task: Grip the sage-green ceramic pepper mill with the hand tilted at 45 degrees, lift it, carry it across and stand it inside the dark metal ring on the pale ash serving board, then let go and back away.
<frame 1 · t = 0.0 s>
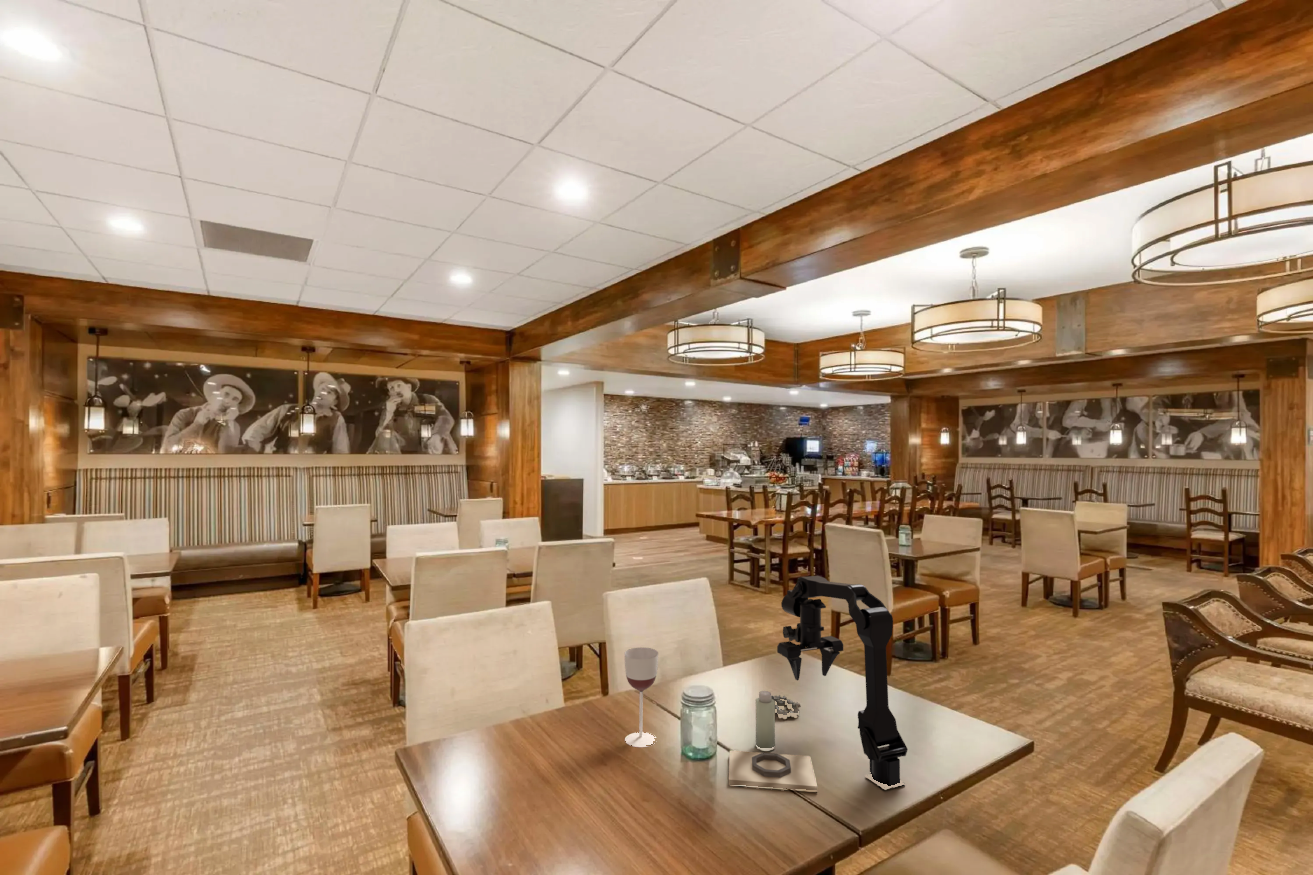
hand: (810, 677, 168), 15 cm above the table, tool pointing down, fingers open, 9 cm apart
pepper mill: (765, 746, 158), on the table
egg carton: (782, 713, 180), on the table
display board: (771, 773, 144), on the table
wineglass: (640, 740, 162), on the table
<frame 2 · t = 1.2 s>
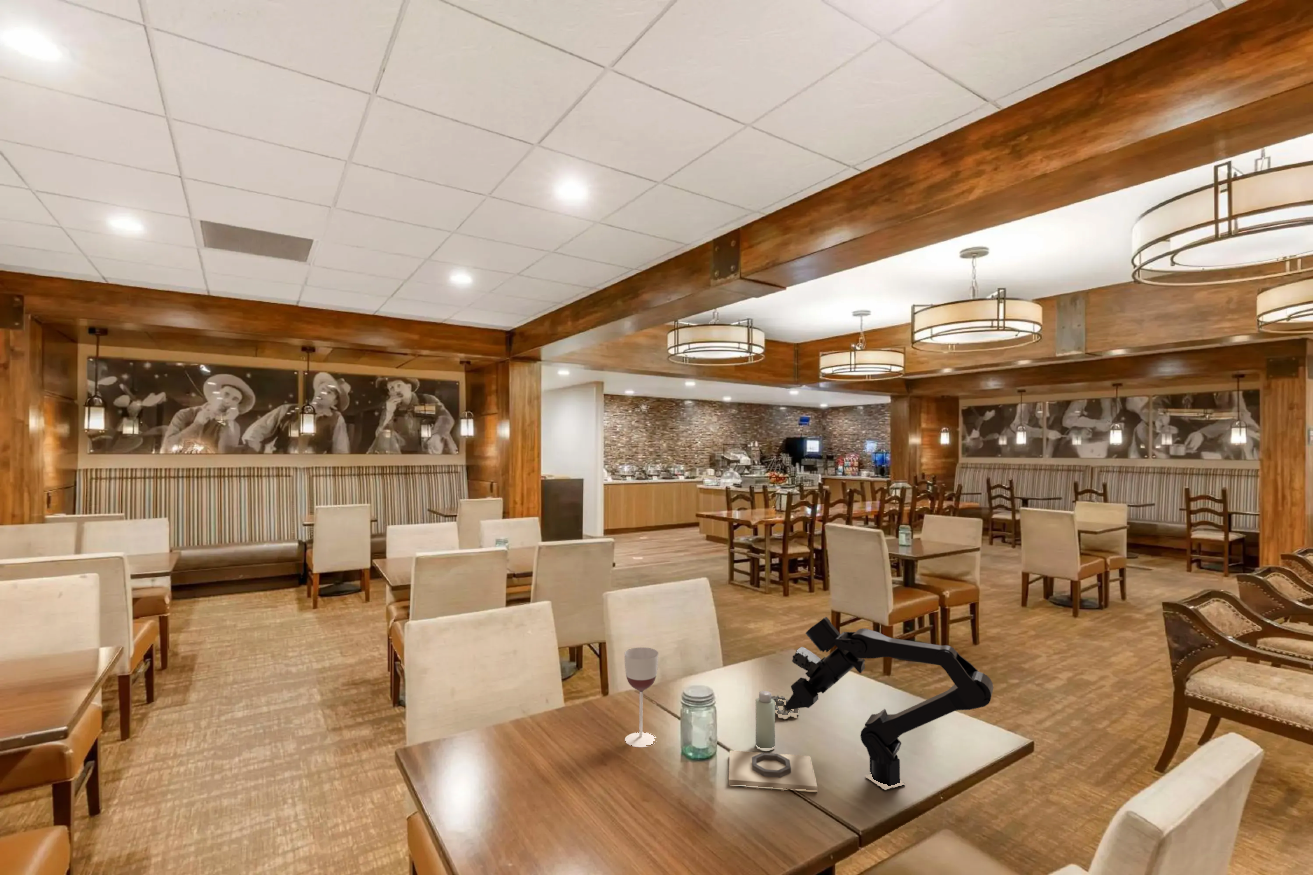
hand: (792, 701, 154), 13 cm above the table, tool tilted 45°, fingers open, 9 cm apart
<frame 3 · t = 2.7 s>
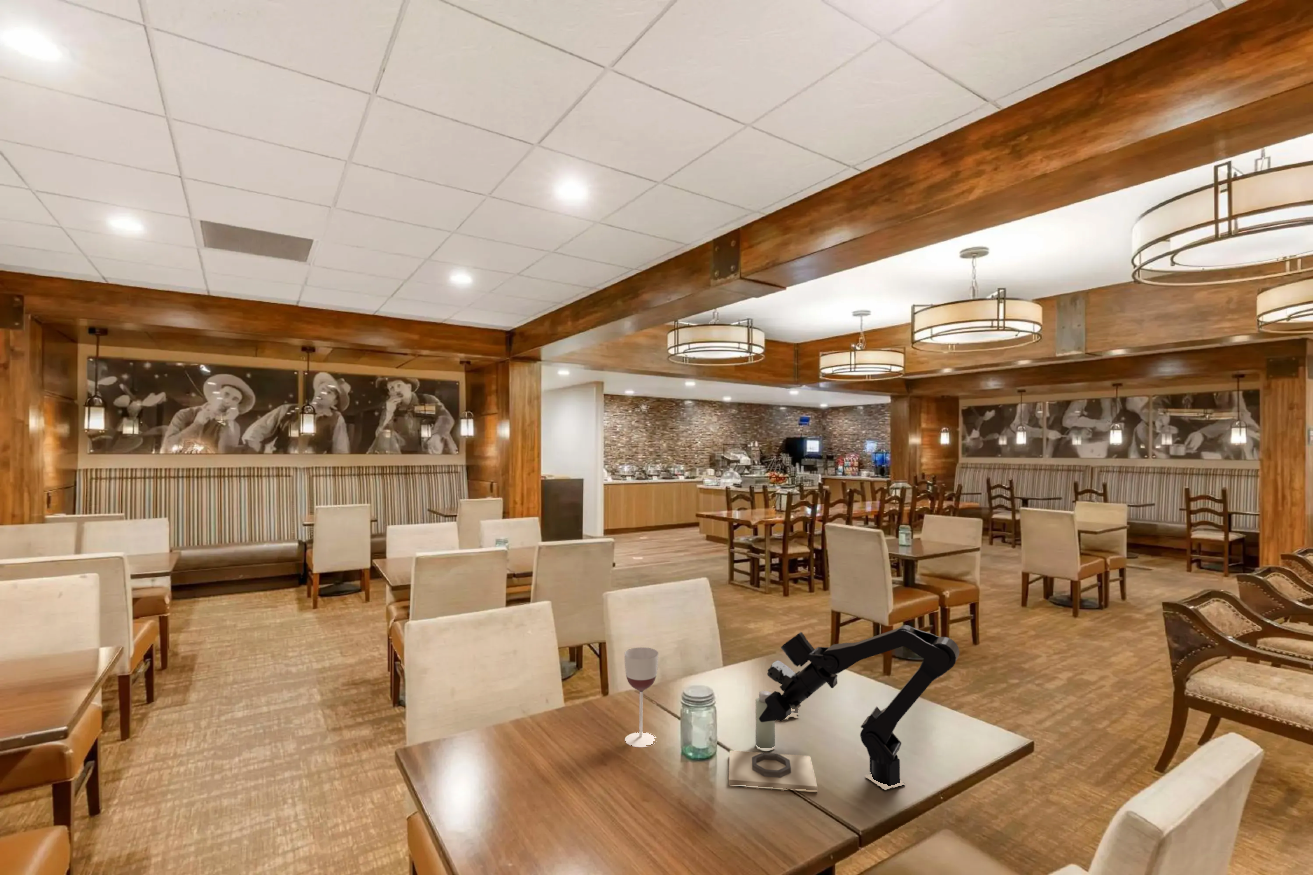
hand: (767, 713, 158), 9 cm above the table, tool tilted 45°, fingers open, 9 cm apart
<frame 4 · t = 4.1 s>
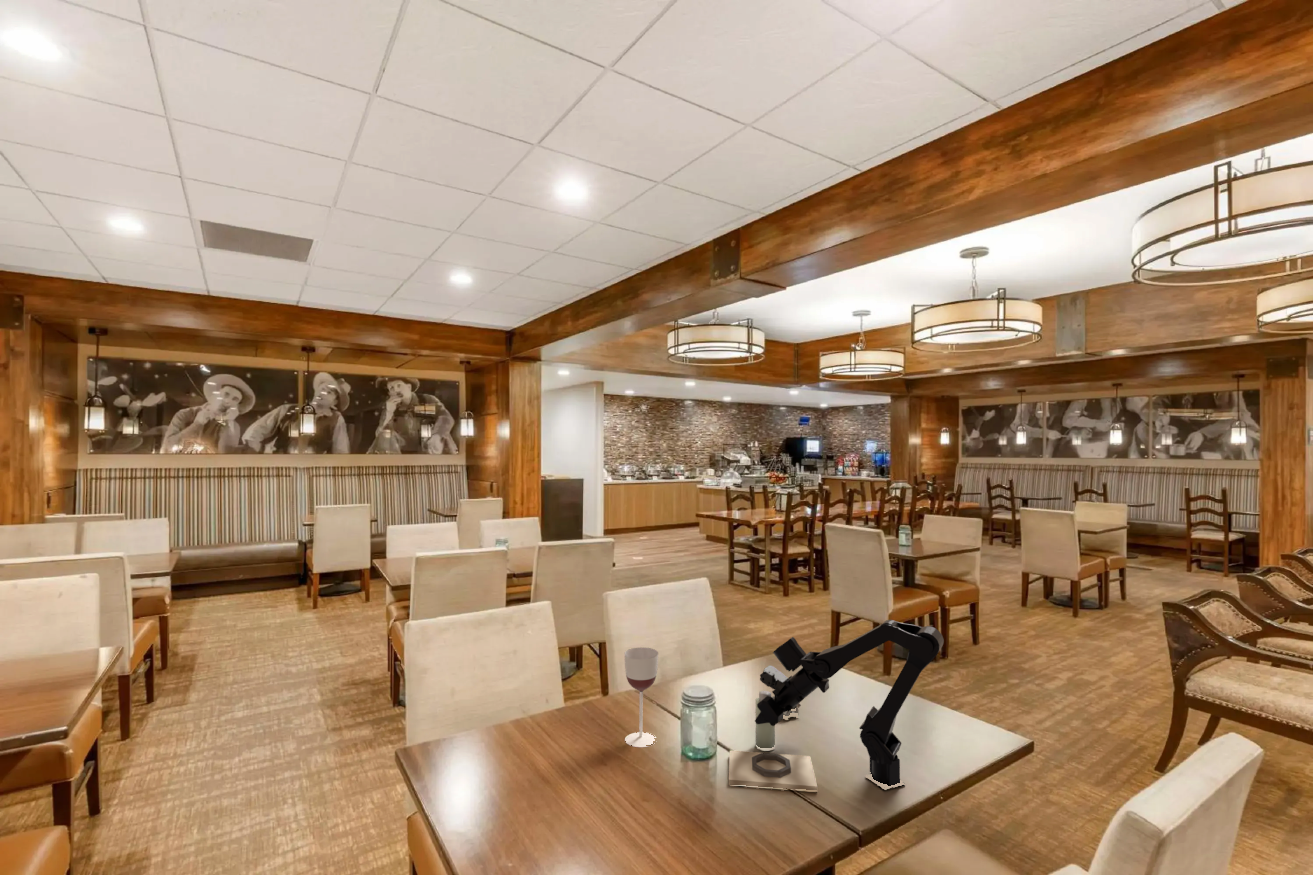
hand: (760, 718, 159), 7 cm above the table, tool tilted 45°, fingers closed on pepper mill, 5 cm apart
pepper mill: (765, 746, 158), on the table, touching gripper
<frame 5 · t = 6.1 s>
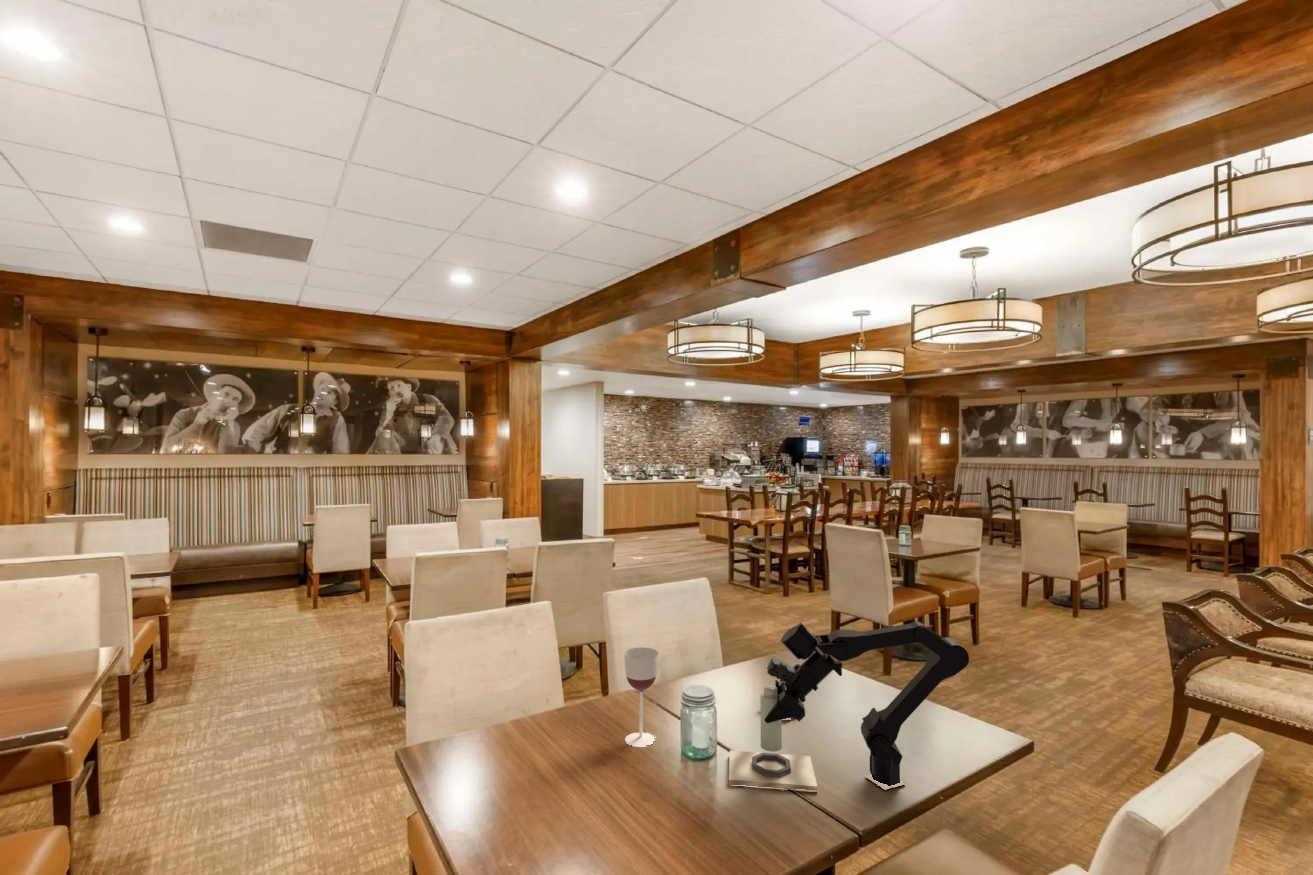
hand: (765, 716, 145), 13 cm above the table, tool tilted 45°, fingers closed on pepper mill, 5 cm apart
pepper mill: (771, 746, 145), point 6 cm above the table, touching gripper
when the fingers open (9 cm above the table, at t = 8.1 s): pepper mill stays where it is, resting on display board.
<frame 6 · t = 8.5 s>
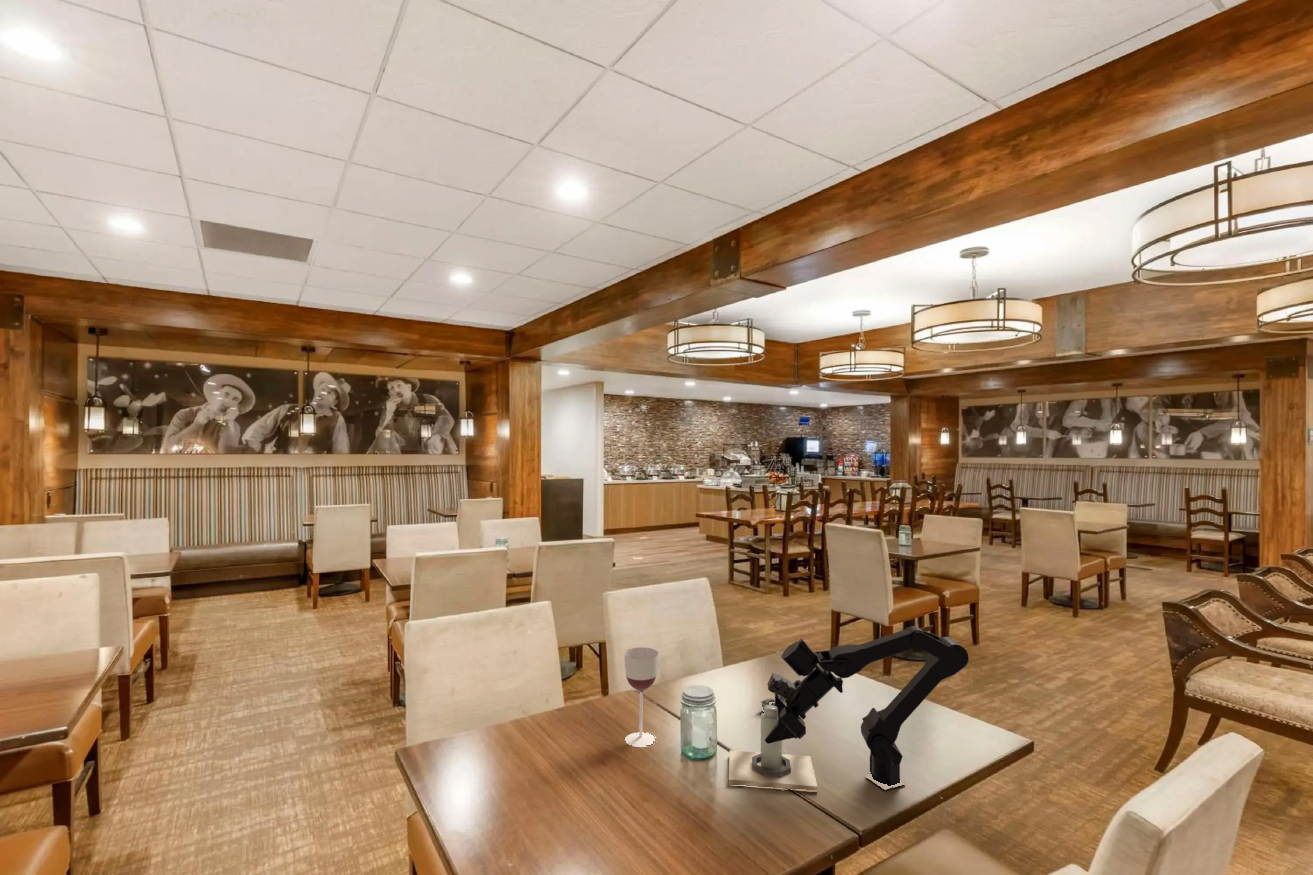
hand: (765, 732, 145), 10 cm above the table, tool tilted 45°, fingers open, 9 cm apart
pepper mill: (771, 767, 144), point 2 cm above the table, touching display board
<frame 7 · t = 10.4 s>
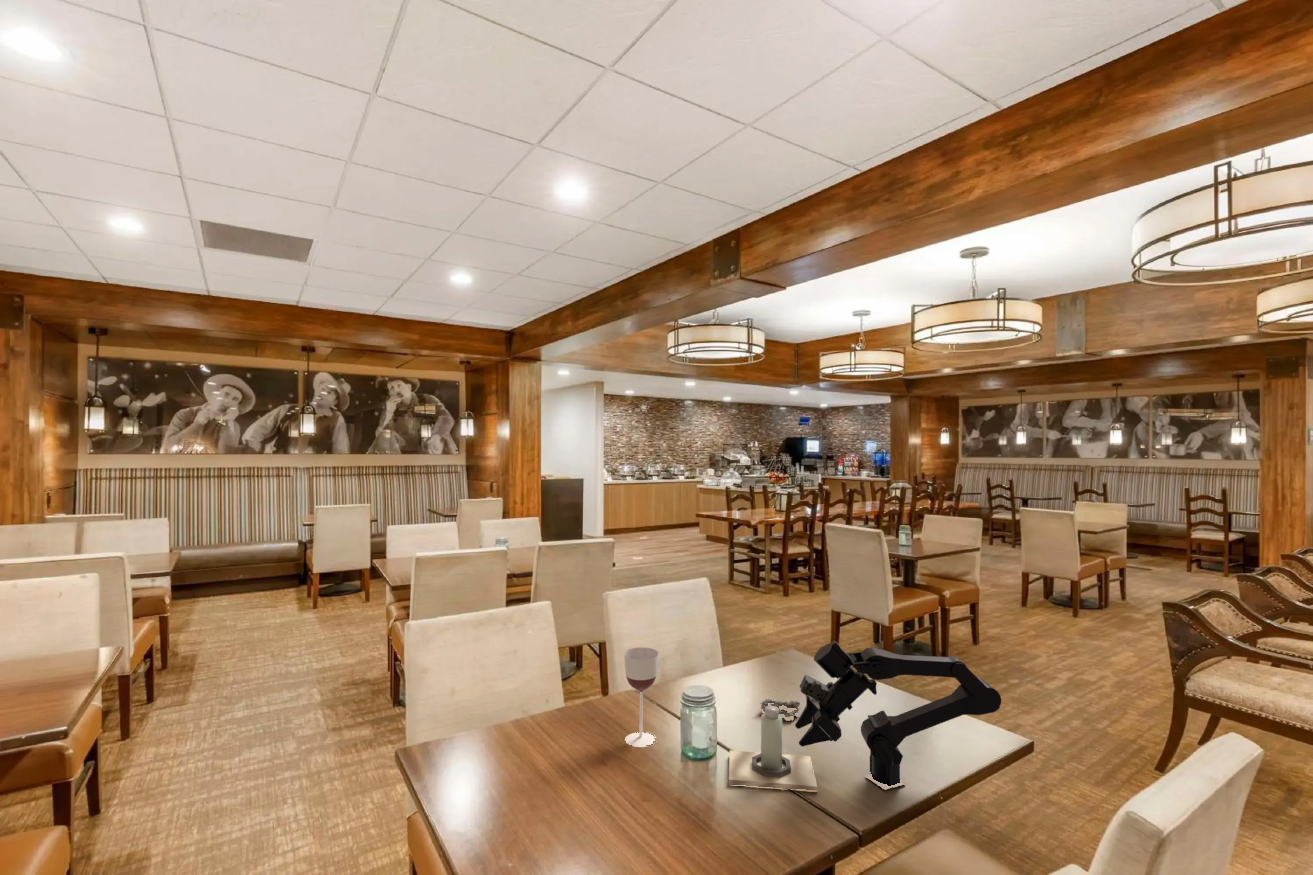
hand: (798, 735, 144), 9 cm above the table, tool tilted 45°, fingers open, 9 cm apart
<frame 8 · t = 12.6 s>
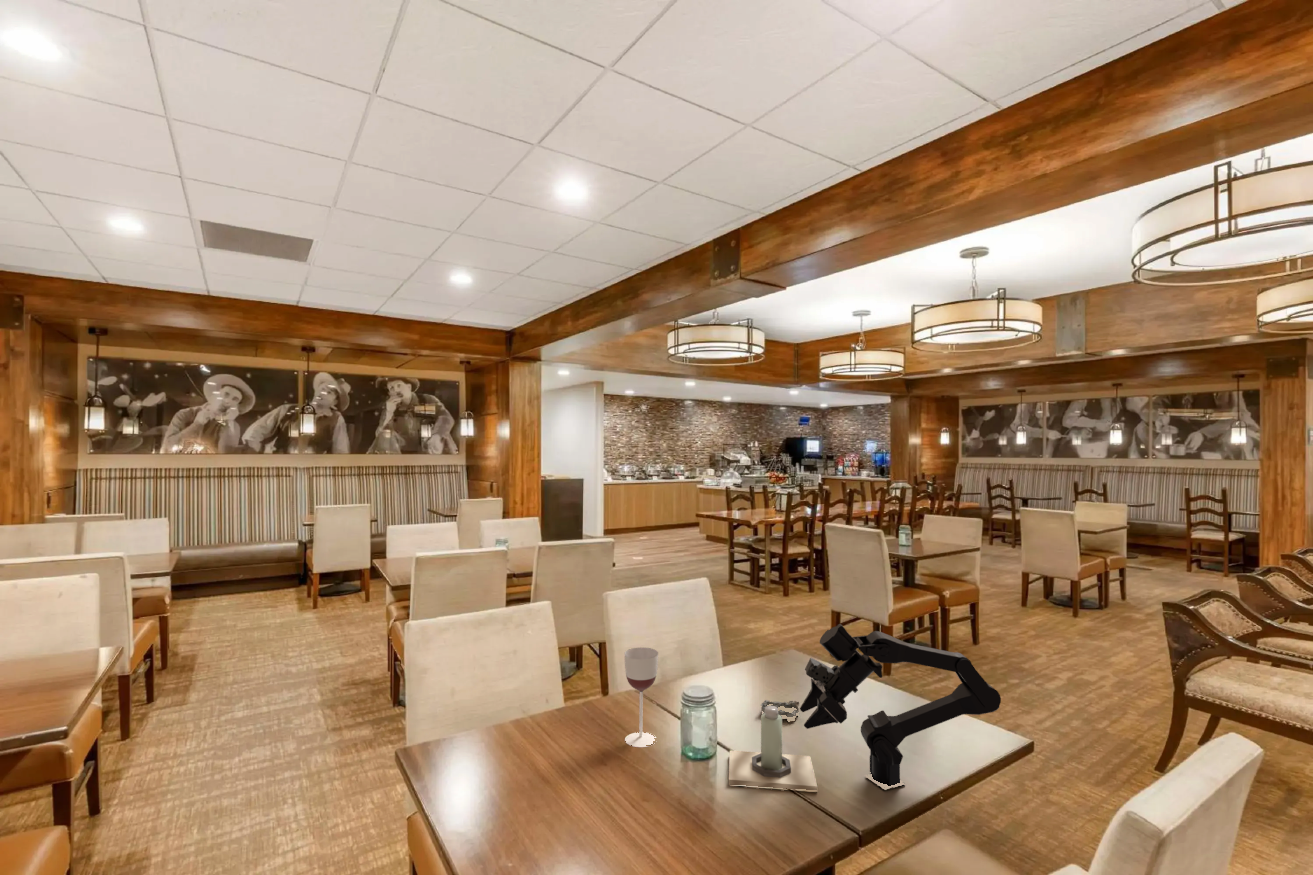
hand: (803, 718, 144), 14 cm above the table, tool tilted 45°, fingers open, 9 cm apart
at the end: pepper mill 0.1 cm off-centre on the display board, point 1.5 cm above the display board's base; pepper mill tilted 0°; the gripper is holding nothing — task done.
